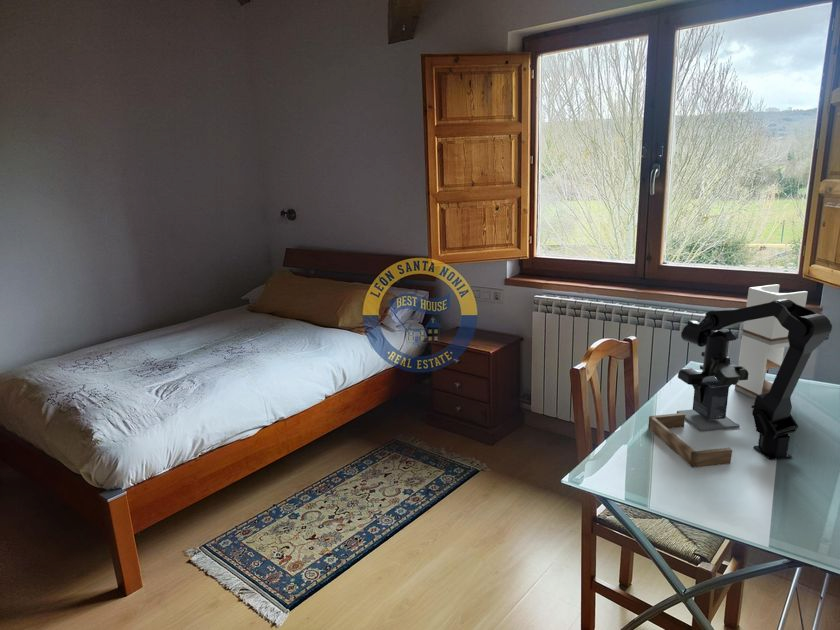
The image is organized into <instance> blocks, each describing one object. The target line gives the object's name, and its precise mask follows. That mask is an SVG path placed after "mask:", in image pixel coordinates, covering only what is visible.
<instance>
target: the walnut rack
mask: <svg viewBox="0 0 840 630" xmlns="http://www.w3.org/2000/svg"><path fill="white" fill-rule="evenodd" d="M648 416H649V415H648ZM685 421H686V420H685V414H684V413H677V412H676V413H668V414H658V415H657V414H656V415H650V416H649V417H648V427H647V429H648V428H649V429H648V430H649V431H650V432H651V433H653V434H654V435H655V436H656V437H657V438H658V439H659V440H661V441H662V443H664V444H665V445H666V446H668V448H669V449H671V450H672V451H673V452H674V453H675V454H676V455H677V456H679V457H680V458H681V460H683V461H684V462H685V463H687V464H688V465H689V466H690V467H691V469H693V468H695V469H696V468H704V467H713V466H721V465H722V466H723V465H730V464H731V461H732V456H733V449H732V448H731V447H722V448H721V447H720V448H711V449H703V450H694V449H693V448H692V447H691V446H689V445H688V444H687V443H686V442H685V441H683V439H681V438H680V437H679V436H678V435H676V434H675V433H674V432H673V431H671V430H670V429H675V428H676V429H678V428H679V429H680V428H685V423H686V422H685Z"/></svg>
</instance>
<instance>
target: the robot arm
mask: <svg viewBox="0 0 840 630" xmlns="http://www.w3.org/2000/svg"><path fill="white" fill-rule="evenodd" d="M770 316H774V317H776V318H777V319H778V321H779V322H780V324H781V325H782V326H783V327H784V328H785V329H787V330H788V331H789V332H788V340H789V346H788V349H787V351H786V353H785V355H784V356H783V360H782V364H781V366H780V368H779V369H778V371H777V373H776V376H775V378H774V380H773V382H772V383H773V384H772V386H771V389H770V391H769V392H768V393H764V394H760V395H757V397H756V399H754V404H752V406H750V408H752V412H751V413H752V414H751V415H752V416H753V420H754V425H755V430H756V432H757V433H759V436H758V437H759V438H758V443H757V444H758V445H753V446H752V448H753V449H754V450H755V451H756V452H758V453H760V454H761V455H762V456H763V457H765V458H767V459H768V460H770V461H772V460H782V459H790V458H793V455H792V454H790V453H789V452H788V450H789V445H790V439H791V436H789V434H792V433H795V432H796V431H797V430H798V429H799V425H798V424H797V422H796V420H795V419H794V417H793V415H792V414H791V413H792V408H793V406H792V405H793V403H792V401H791V397H792V395H793V392H794V391H795V389H796V387H797V384H798V382H799V380H800V378H801V376H802V373H803V372H804V369H806V365H807V363H808V361H809V359H810V357H811V355H812V353H813V351H814V350H815V349H817V348H818V347H819V346H820V345H821V344H822V343H824V341H825V340H826V339H827V338H828V336H829V335H830V333H831V332H832V329H833V324H832V323H831V321H830V319H829V318H828V316H826V315H824V314H822V313H817V312H816V311H814V310H812V309H811V308H808V307H806V306H805V307H803V306H800V305H798V304H796V303H794V302H793V301H791V300H789V299H780V300H774V301H772V302H769V303H765V304H760V305H755V306H750V307H746V306H745V307H741V308H737V307H724V308H718V309H713V310H708V311H706V313H705V316H704V318H703V319H702V320H701V321H700V322H699V321H697V320H695V319H691V320H688V321H687V324H686V325H685V326H684V328H682V331H681V333H680V336H681V339H682V340H683V341H684V342H687V343H690V344H692V345H694V346H697V347H701V348H702V347H703V348H704V351H702V352H701V354H700V355H701V356H702V357H703V362H702V363H703V364H701V365H699V369H700V370H702V371H697V370H695V369H694V368H692V367H691V368H690V367H689V368H681V369H680V370H679V371H678V373H677V379H679V380H681V381H682V382H683V383H685V384H687V385H689V386H692V387H693V389H694V390H695V393H696V395H697V398H698V401H699V402H700V403H702V401H703V396H704V388H705V387H706V386H707V385H708V384H706V383H704V382H705V378H713V377H715V378H717V379H718V381H719V383H720V384H721V385H724V386H727V385H729V388H730V387H731V386H732V385H733V386H735V385H736V384H737V383H738V382H739V381H740V380H748V375H749V373H748V371H747V370H746V369H745V368H744V367H743V366H738V364H731V359H730V358H731V357H730V356H728V349H729V343H730V342H731V341H732V342H733V341H736V340H738V338H737V336H736V335H735V334H734V333H732V331H731V330H730V331H729V330H728V331H722V330H725V329H731V328H734V327H735V326H739V325H740V324H742V323H744V321H748V320H754V319H759V318H765V317H770ZM738 380H739V381H738Z"/></svg>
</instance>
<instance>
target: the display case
mask: <svg viewBox="0 0 840 630" xmlns="http://www.w3.org/2000/svg"><path fill="white" fill-rule="evenodd" d="M808 293H809V291H806V290H803V291H795V292H780V284H776V283H774V284H767V285H760V286H751V287H749V288H748V292H747V300H746V305H745V308H746V307H750V306H755V305H760V304H765V303H769V302H772V301H774V300H780V299H789V300H791V301H793V302H794V303H796V304H798V305H800V306H803V307H805V308H806V304H807V300H808V299H807V298H808ZM788 332H789V331H788V330H787V329H785V328H784V327H783V326H782V325H781V324H780V322H779V321H778V319H777V318H776V317H774V316H770V317H765V318H759V319H754V320H748V321H744V322H743V327H742V334H741V335H742V336H741V342H740V348H739V357H738V364H737V365H738V366H743V367H744V368H745V369H746V370H747V371H748V373H749V375H748V380H740V381H739V380H738V381H739V382H738V383H737V384H736V385H734V390H735V391H737V392H739V393H742V394H744V395H745V396H747V397H749V398H752V399H754V400H755V399H756V397H757V395H760V394H764V393H768V392H769V391H770V389H771V386H772V384H773V382H771V381H768V380H766V375H767V371H768V370H773V369H778V368H780V366H781V364H782V362H783V359H784V354H785V348H787V347H788V348H789V340H788Z"/></svg>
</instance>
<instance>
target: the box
mask: <svg viewBox="0 0 840 630" xmlns="http://www.w3.org/2000/svg"><path fill="white" fill-rule="evenodd" d="M704 383H706V384H708V385H707V386H706V387H705V388H704V396H703V401H702V403H700V402H699V401H698V398H697V395H696V393H695V390H694V391H693V398H692V399H693V400H692V409H693V410H694V411H696V412H697V413H699V414H700V415H702V416H703V417H704V418H706V419H707V420H718V419H725V418H726V417H727V406H728V399H729V391H730V387H729V385H727V386H724V385H721V384H720V383H719V381H718V379H717V378H716V377H713V378H705V382H704Z"/></svg>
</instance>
